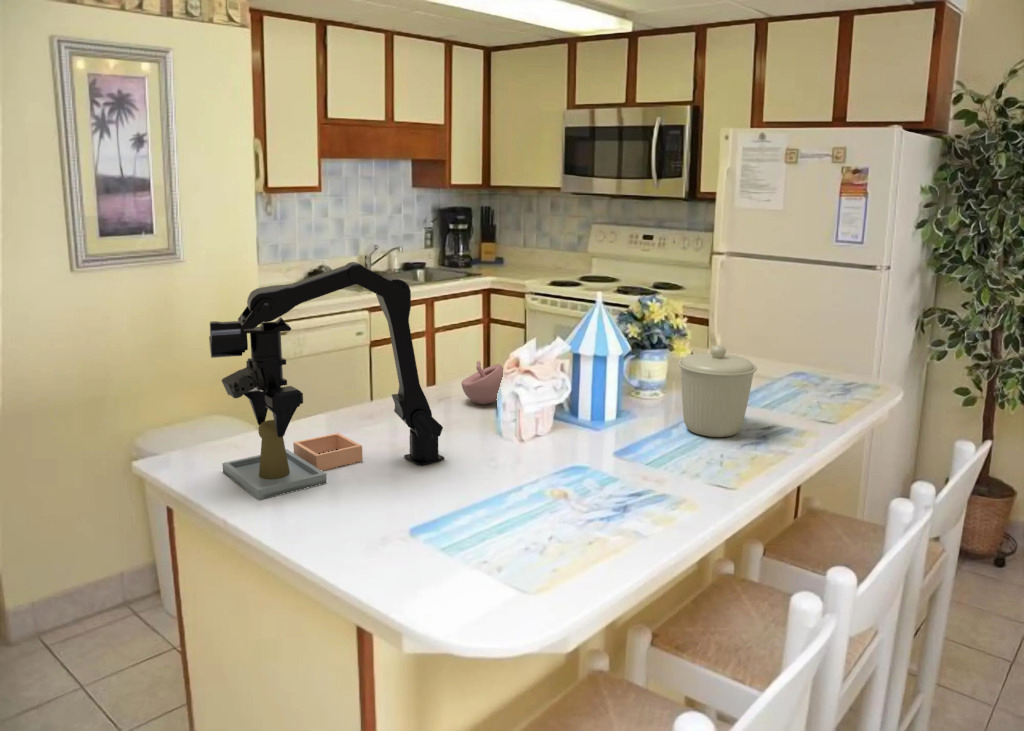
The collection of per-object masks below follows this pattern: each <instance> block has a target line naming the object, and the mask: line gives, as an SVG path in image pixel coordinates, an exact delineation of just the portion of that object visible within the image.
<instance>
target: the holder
mask: <svg viewBox="0 0 1024 731" xmlns="http://www.w3.org/2000/svg"><path fill="white" fill-rule="evenodd" d="M336 449H338V450H336ZM331 450H333V451H331ZM328 451H329V452H328ZM323 452H324V453H323ZM293 453H294V454H295V455H297V456H299V457H300V458H302V459H303V460H305V461H307V462H308V463H310V464H311V465H313V466H315V467H316V468H318V469H319V470H324V471H327V470H326V469H328V470H332V469H335V467H336V468H339V467H338V466H341V467H343V466H342V465H345V466H348V465H347V464H349V465H352V464H351V463H353V464H356V462H357V463H360V462H359V461H362V462H363V445H362V444H360V443H358V442H356V441H354V440H353V439H350V438H348V437H347V436H345V435H343V434H341V433H339V432H335V433H331V434H327V435H326V434H325V435H321V436H317V437H312V438H308V439H303V440H299V441H293ZM319 453H320V454H319ZM331 468H332V469H331Z"/></svg>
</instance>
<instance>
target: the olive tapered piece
mask: <svg viewBox="0 0 1024 731" xmlns="http://www.w3.org/2000/svg"><path fill="white" fill-rule="evenodd" d="M257 431H258V435H259V437H260V439H261V445H260V446H261V447H260V454H259V455H260V468H259V477H261V478H263V479H280V478H283V477H286V476H288V475H289V474H290V471H289V465H288V460H287V455H286V446H285V439H284V436H285V434H286V433H285V434H284V436H283V437H278V436H277V433H276V428H275V423H274V419H269V420H265V421H264V422H262V423H261V424H260V425H258V430H257Z"/></svg>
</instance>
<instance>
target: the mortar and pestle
mask: <svg viewBox="0 0 1024 731" xmlns="http://www.w3.org/2000/svg"><path fill="white" fill-rule="evenodd" d="M475 367H476V370H477V372H474V373H473V374H471V375H469V376H468V377H466V378H464V379H463V380H461V387H462V391H463V393H464V394H465V395H466V397H467V398H468V399H469V401H470V400H471V401H472V402H473V403H476V404H480V405H489V404H493V403H495V402H497V401H496V399H497V393H498V390H499V387H500V383H501V380H502V377H503V369H504V367H503V366H502V365H501V363H496V364H492V365H491V366H487V367H486V368H483V369H482V366H481V361H480V360H477V361H476V366H475Z"/></svg>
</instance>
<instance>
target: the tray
mask: <svg viewBox="0 0 1024 731" xmlns="http://www.w3.org/2000/svg"><path fill="white" fill-rule="evenodd" d="M285 450H286V455H287V460H288V465H289V471H290V474H289V475H288V476H286V477H283V478H280V479H263V478H261V477H259V468H260V455H261V454H258V455H254V456H249V457H245V458H240V459H235V460H231V461H225V462H222V463H221V465H222V473H223V474H225V475H226V476H227V477H229V478H230V479H231V480H233V481H234V482H235V483H236V484H238V486H240V487H242V489H243V490H245V491H247V492H248V493H249V494H250V495H251V496H253V498H256V499H257V500H258V501H260V500H261V501H262V500H264V499H270V498H272V496H273V497H276V495H277V496H281V495H280V494H282V495H284V494H283V493H286V494H288V493H287V492H290V493H292V492H291V491H294V492H297V491H296V490H298V491H301V490H300V489H302V490H305V489H304V488H306V489H308V488H307V487H310V488H312V487H311V486H314V487H316V486H315V485H318V486H320V485H319V484H322V485H324V484H323V483H326V484H327V479H328V478H327V473H326V472H325V471H321V470H319V469H318V468H316V467H315V466H313V465H311V464H310V463H308V462H307V461H305V460H303V459H302V458H300V457H299V456H297V455H295V454H294V452H292V451H291V450H289V449H286V448H285Z"/></svg>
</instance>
